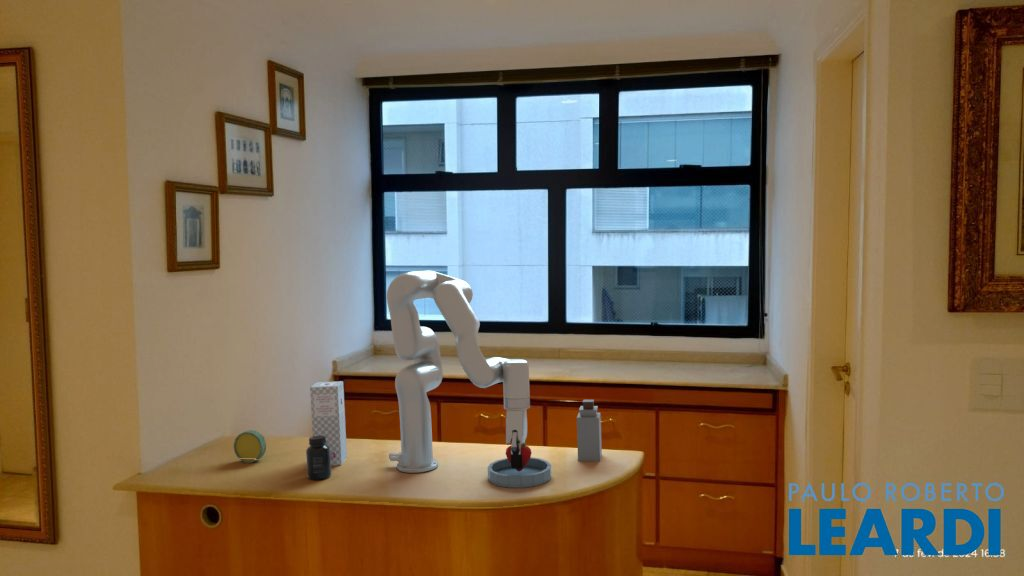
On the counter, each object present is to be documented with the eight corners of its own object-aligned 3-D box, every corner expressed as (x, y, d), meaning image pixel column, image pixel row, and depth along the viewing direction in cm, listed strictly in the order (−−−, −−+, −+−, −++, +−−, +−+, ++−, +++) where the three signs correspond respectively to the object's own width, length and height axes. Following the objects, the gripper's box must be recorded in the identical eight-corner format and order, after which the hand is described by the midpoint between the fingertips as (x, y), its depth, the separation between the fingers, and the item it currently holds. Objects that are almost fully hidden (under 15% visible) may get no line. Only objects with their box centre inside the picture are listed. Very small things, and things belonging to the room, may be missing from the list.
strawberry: (508, 467, 209) (507, 433, 208) (533, 468, 207) (532, 434, 206) (504, 473, 203) (503, 439, 202) (530, 474, 201) (529, 439, 201)
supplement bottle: (335, 474, 214) (333, 434, 213) (322, 481, 208) (320, 441, 207) (316, 472, 216) (314, 433, 216) (302, 479, 210) (300, 439, 209)
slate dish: (482, 487, 198) (482, 475, 197) (495, 467, 215) (494, 456, 215) (547, 488, 195) (546, 476, 194) (554, 468, 212) (553, 457, 212)
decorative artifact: (234, 462, 230) (232, 432, 230) (246, 456, 237) (244, 426, 237) (262, 463, 228) (261, 432, 228) (274, 456, 235) (272, 426, 235)
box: (314, 466, 223) (310, 387, 222) (320, 458, 231) (316, 382, 230) (341, 465, 223) (337, 386, 222) (346, 457, 232) (343, 381, 230)
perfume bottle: (600, 461, 217) (598, 403, 216) (578, 460, 219) (576, 403, 218) (601, 455, 224) (600, 398, 223) (580, 454, 225) (578, 398, 224)
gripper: (509, 396, 213) (510, 455, 214) (498, 409, 196) (500, 473, 197) (533, 396, 212) (535, 456, 213) (525, 409, 195) (527, 474, 196)
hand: (518, 464), depth 205 cm, fingers closed on strawberry, 6 cm apart
